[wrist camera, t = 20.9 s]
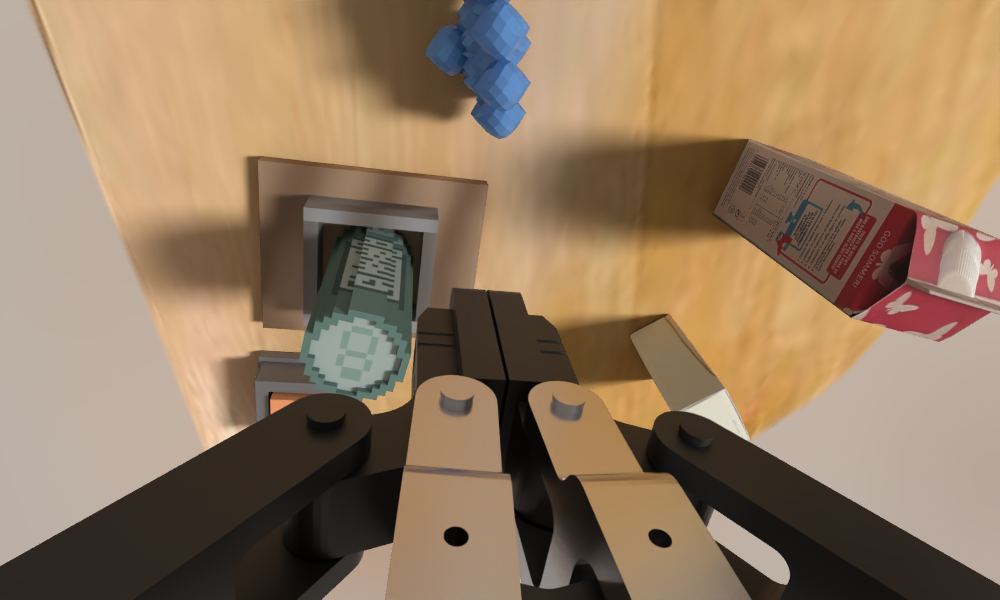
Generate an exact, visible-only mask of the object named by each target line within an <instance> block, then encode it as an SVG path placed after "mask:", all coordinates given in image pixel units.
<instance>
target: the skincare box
mask: <svg viewBox="0 0 1000 600" xmlns="http://www.w3.org/2000/svg"><path fill="white" fill-rule="evenodd" d="M630 338H631V340H632V342H633V344H634V346H635V348H636V350H637V352H638V354H639V356H640V357H641V359H642V361H643V363H644V365H645V367H646V368H647V370H648V372H649V374H650V375H651V377H652V379H653V380H654V382H655V384H656V386H657V387H658V389H659V391H660V392H661V394H662V396H663V398H664V399H665V401H666V403H667V405H668V406H669V408H670V410H671V411H684V412H690V413H694V414H697V415H701V416H703V417H705V418H708V419H710V420H712V421H714V422H715V423H717V424H719V425H721V426H722V427H724V428H726V429H728V430H729V431H731V432H733V433H735V434H736V435H738V436H740V437H742V438H743V439H745V440H747V441H750V438H749V435H748V433H747V430H746V428H745V426H744V423H743V421H742V419H741V417H740V415H739V413H738V411H737V409H736V407H735V405H734V403H733V401H732V399H731V397H730V395H729V394H728V392H727V390H726V388H725V387H724V386H723V384H722V383H721V382H720V380H719V379H718V378H717V376H716V375H715V374H714V372H713V371H712V370H711V368H710V367H709V366H708V364H707V363H706V362H705V360H704V359H703V358H702V356H701V355H700V354H699V352H698V351H697V350H696V348H695V347H694V346H693V344H692V343H691V342H690V340H689V339H688V338H687V336H686V335H685V334H684V332H683V331H682V330H681V328H680V327H679V326H678V324H677V323H676V322H675V320H674V319H673V318H672V317H671V315H667V316H665V317H663V318H661V319H659V320H657V321H655V322H653V323H651V324H649V325H647V326H645V327H644V328H642V329H640V330H638V331H636V332H634V333H632V334H631V335H630Z"/></svg>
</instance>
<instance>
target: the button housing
mask: <svg viewBox="0 0 1000 600" xmlns="http://www.w3.org/2000/svg"><path fill="white" fill-rule="evenodd" d="M300 354H301V353H293V352H276V351H261V352H260V354H259V356H258V361H259V372H258V375H257V377H256V379H255V397H256V422H258V421H260V420H262V419H264V418H265V417H267V416H269V415H271V408H270V399H271V396H272V393H273V392H285V393H306V394H321V393H328V392H329V391H325V390H320V389H315V386H316V383H314V382H309V380H310V376H308V375H303V374H304V370H305V365H306V363H303V362H299V358H300Z"/></svg>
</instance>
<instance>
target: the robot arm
mask: <svg viewBox="0 0 1000 600" xmlns="http://www.w3.org/2000/svg"><path fill="white" fill-rule="evenodd" d="M714 509H715V510H717V511H718V512H720V513H721V514H723V515H724V516H726V517H727V518H729V519H730V520H732V521H734V522H735V523H736V524H738V525H740V526H741V527H743V528H744V529H745V530H747V531H748V532H750V533H751V534H753V535H754V536H756V537H757V538H759V539H760V540H762V541H763V542H765V543H767V544H768V545H769V546H771V547H772V548H774V549H775V550H776V551H778V552H779V553H780V554H781V556H782V557H783V558H784V559H785V561H786V562H787V565H788V567H789V570H790V580H789V582H788V584H787V585H784V584H779V583H777V582H774V581H772V580H771V579H770V578H768V577H767V576H765V575H764V574H762V573H761V572H759V571H758V570H757V569H755V568H754V567H753V566H751V565H750V564H748V563H747V562H745V561H744V560H743V559H741V558H740V557H738V556H737V555H735V554H734V553H732V552H731V551H730V550H728V549H727V548H725V547H724V546H723V545H721V544H720V543H718V542H717V541H715V540H714V539H713V537H712V536H711V534H710V533H709V531H708V529H707V525H708V523H709V520H710V518H711V515H712V513H713V510H714ZM390 543H393V547H392V554H391V561H390V568H389V575H388V582H387V589H386V596H385V600H1000V585H998V584H997V583H995V582H993V581H991V580H990V579H988V578H986V577H984V576H983V575H981V574H979V573H977V572H976V571H974V570H972V569H970V568H969V567H967V566H965V565H964V564H962V563H960V562H958V561H956V560H954V559H953V558H951V557H950V556H948V555H946V554H944V553H943V552H941V551H939V550H937V549H935V548H933V547H932V546H930V545H929V544H927V543H925V542H923V541H922V540H920V539H918V538H916V537H914V536H913V535H911V534H909V533H908V532H906V531H904V530H902V529H900V528H899V527H897V526H895V525H894V524H892V523H890V522H888V521H887V520H885V519H883V518H881V517H880V516H878V515H876V514H874V513H873V512H871V511H869V510H867V509H865V508H864V507H862V506H860V505H859V504H857V503H855V502H853V501H852V500H850V499H848V498H846V497H845V496H843V495H841V494H839V493H838V492H836V491H834V490H832V489H831V488H829V487H827V486H825V485H824V484H822V483H820V482H818V481H817V480H815V479H813V478H811V477H810V476H808V475H806V474H804V473H803V472H801V471H799V470H797V469H796V468H794V467H792V466H790V465H789V464H787V463H785V462H783V461H782V460H780V459H778V458H777V457H775V456H773V455H771V454H769V453H768V452H766V451H764V450H762V449H761V448H759V447H757V446H755V445H754V444H752V443H750V442H749V441H747V440H745V439H743V438H742V437H740V436H738V435H736V434H735V433H733V432H731V431H729V430H728V429H726V428H724V427H722V426H721V425H719V424H717V423H715V422H714V421H712V420H710V419H708V418H705V417H703V416H701V415H697V414H694V413H690V412H684V411H670V412H665V413H663V414H661V415H659V416H658V417H657V418H656V420H655V422H654V425H653V428H652V430H649V429H645V428H641V427H637V426H633V425H629V424H625V423H622V422H619V421H616V420H614V419H613V418H612V416H611V414H610V413H609V411H608V409H607V407H606V405H605V404H604V402H603V401H602V399H601V398H600V397H599V396H598V395H596V394H595V393H594V392H592V391H590V390H589V389H587V388H585V387H583V386H580V385H579V383H578V381H577V378H576V376H575V373H574V371H573V368H572V366H571V363H570V361H569V359H568V356H567V355H566V351H565V349H564V346H563V344H561V339H560V337H559V334H558V332H557V329H556V328H555V327H554V326H553V325H552V324H551V323H550V322H549V321H547V320H546V319H545V318H544V317H543V316H538V315H528V313H527V310H526V307H525V304H524V301H523V298H522V295H521V293H517V292H505V291H492V290H487V292H486V290H478V289H466V288H452V291H451V296H450V304H449V309H442V308H428V307H427V308H426V310H425V311H424V312H423V313H422V314H421V315H420V316H419V317H418V319H417V329H416V340H415V350H414V360H413V371H412V395H411V400H410V401H409V402H408V403H406V404H405V405H403V406H402V407H399V408H397V409H395V410H392V411H389V412H385V413H380V414H374V415H372V414H371V412H370V410H369V409H368V407H367V406H366V405H365V404H364V403H362V402H361V401H359V400H357V399H355V398H353V397H350V396H347V395H342V394H336V393H321V394H314V395H309V396H306V397H303V398H300V399H298V400H296V401H294V402H292V403H290V404H288V405H287V406H285V407H283V408H281V409H280V410H278V411H276V412H274V413H272V414H271V415H269V416H267V417H265V418H264V419H262V420H260V421H258V422H256V423H255V424H253V425H251V426H249V427H247V428H246V429H244V430H242V431H240V432H239V433H237V434H235V435H233V436H231V437H230V438H228V439H226V440H224V441H223V442H221V443H219V444H217V445H215V446H214V447H212V448H210V449H208V450H206V451H205V452H203V453H201V454H199V455H198V456H196V457H194V458H192V459H190V460H189V461H187V462H185V463H183V464H182V465H180V466H178V467H176V468H174V469H173V470H171V471H169V472H168V473H166V474H164V475H162V476H160V477H158V478H157V479H155V480H153V481H151V482H150V483H148V484H146V485H144V486H142V487H141V488H139V489H137V490H135V491H133V492H132V493H130V494H128V495H126V496H124V497H123V498H121V499H119V500H117V501H116V502H114V503H112V504H110V505H109V506H107V507H105V508H103V509H102V510H100V511H98V512H96V513H94V514H92V515H91V516H89V517H87V518H85V519H84V520H82V521H80V522H78V523H76V524H75V525H73V526H71V527H69V528H67V529H66V530H64V531H62V532H60V533H59V534H57V535H55V536H53V537H51V538H50V539H48V540H46V541H44V542H43V543H41V544H39V545H37V546H36V547H34V548H32V549H30V550H28V551H26V552H25V553H23V554H21V555H19V556H18V557H16V558H14V559H12V560H10V561H9V562H7V563H5V564H3V565H2V566H0V600H322V598H324V597H325V595H327V594H328V593H329V592H330V591H331V590H332V589H333V588H334V587H335V586H336V585H338V584H339V583H340V582H341V581H342V580H343V579H344V578H345V577H346V576H347V575H348V574H349V573H350V572H351V571H352V570H353V569H354V568H355V567H356V566H357V565H358V564H359V562H360V560H361V558H362V556H363V552H364V550H368V549H372V548H375V547H378V546H382V545H386V544H390ZM520 579H521V583H520Z"/></svg>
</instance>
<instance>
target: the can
mask: <svg viewBox="0 0 1000 600" xmlns="http://www.w3.org/2000/svg"><path fill="white" fill-rule="evenodd" d="M394 230H395V229H387V228H376V227H366V226H356V227H355V226H351V228H350V230H347V229H345V230H344V233H343V236H342V238H340V237H337V240H336V243H335V246H334V249H333V252H332V255H331V258H330V261H329V264H328V266H327V269H326V272H325V275H324V278H323V281H322V284H321V287H320V290H319V293H318V296H317V299H316V302H315V305H314V308H313V310H312V313H311V316H310V319H309V322H308V325H307V328H306V331H305V335H304V340H303V344H302V349H301V354H300V358H299V362H303V363H306V365H305V370H304V374H303V375H308V376H310V380H309V382H314V383H316V386H315V389H320V390H325V391H329V392H328V393H336V394H342V395H347V396H350V397H353V398H355V399H357V400H359V401H361V402H362V399H363V398H368V399H373V400H376V399H377V396H378V395H382V396H385V392H386V391H390V392H393V389H394V386H395V382H396V381H398V382H403V379H404V376H405V373H406V369H407V366H408V363H409V360H410V356H411V338H412V297H413V256H411V246H410V245H407V240H406V239H403V237H404V234H402V233H398V232H394Z"/></svg>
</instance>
